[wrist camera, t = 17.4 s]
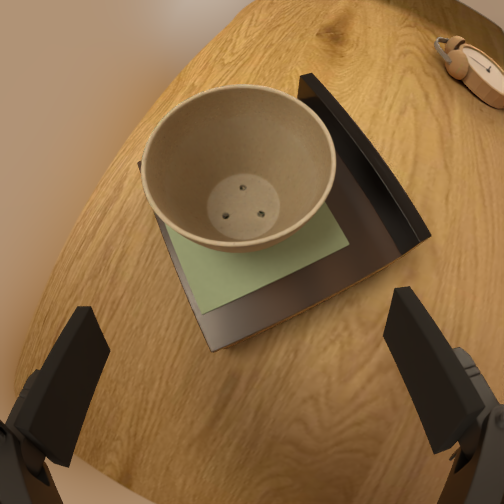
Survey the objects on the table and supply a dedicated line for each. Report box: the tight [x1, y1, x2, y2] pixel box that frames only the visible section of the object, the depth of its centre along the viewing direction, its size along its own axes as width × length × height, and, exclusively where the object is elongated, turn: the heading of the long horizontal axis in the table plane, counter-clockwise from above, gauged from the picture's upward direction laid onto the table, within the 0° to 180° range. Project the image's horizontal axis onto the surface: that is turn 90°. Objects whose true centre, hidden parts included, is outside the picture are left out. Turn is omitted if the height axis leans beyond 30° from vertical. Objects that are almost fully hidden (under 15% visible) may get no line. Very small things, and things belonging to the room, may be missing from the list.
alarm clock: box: [434, 36, 504, 109], centre depth 31 cm, size 11×5×15 cm
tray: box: [137, 73, 431, 352], centre depth 23 cm, size 16×16×7 cm
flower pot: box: [141, 84, 336, 253], centre depth 18 cm, size 10×10×7 cm
